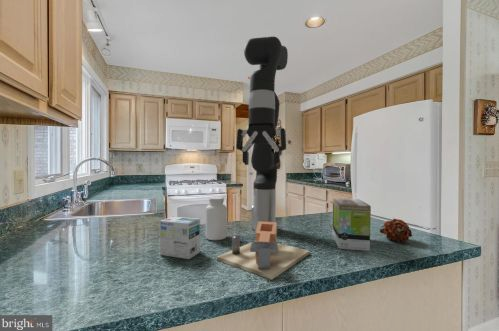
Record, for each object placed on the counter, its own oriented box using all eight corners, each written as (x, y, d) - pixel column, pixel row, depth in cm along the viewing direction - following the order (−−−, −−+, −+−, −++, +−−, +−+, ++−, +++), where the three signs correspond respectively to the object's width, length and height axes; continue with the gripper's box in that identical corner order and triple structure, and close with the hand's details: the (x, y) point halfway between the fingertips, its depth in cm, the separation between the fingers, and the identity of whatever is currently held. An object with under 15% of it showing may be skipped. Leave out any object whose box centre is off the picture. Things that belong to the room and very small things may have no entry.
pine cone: (406, 251, 81) (384, 244, 93) (424, 236, 82) (401, 231, 94) (390, 230, 82) (370, 226, 94) (408, 215, 83) (387, 213, 95)
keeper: (252, 260, 68) (252, 241, 68) (277, 261, 67) (277, 242, 67) (250, 268, 62) (250, 247, 62) (277, 270, 62) (277, 249, 62)
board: (216, 260, 71) (216, 256, 71) (259, 241, 87) (259, 238, 87) (271, 279, 59) (271, 275, 59) (309, 254, 75) (309, 250, 75)
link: (258, 229, 80) (258, 221, 79) (277, 230, 78) (277, 222, 77) (250, 262, 66) (249, 254, 65) (272, 264, 65) (272, 255, 64)
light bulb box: (201, 251, 77) (201, 218, 77) (189, 260, 71) (189, 223, 71) (172, 248, 81) (172, 215, 80) (159, 255, 74) (158, 220, 74)
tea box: (371, 251, 77) (371, 205, 77) (337, 249, 79) (338, 204, 79) (359, 237, 92) (360, 198, 92) (331, 235, 94) (332, 197, 94)
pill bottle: (230, 235, 94) (230, 197, 93) (219, 242, 86) (219, 200, 86) (213, 233, 97) (213, 195, 97) (201, 239, 90) (201, 198, 89)
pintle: (230, 253, 73) (230, 236, 73) (235, 251, 75) (235, 234, 75) (236, 255, 72) (236, 238, 71) (241, 252, 73) (241, 236, 73)
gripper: (287, 110, 72) (286, 165, 72) (241, 112, 75) (240, 164, 76) (285, 105, 65) (284, 166, 65) (234, 106, 68) (233, 164, 68)
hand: (260, 165), depth 70 cm, fingers open, 8 cm apart
